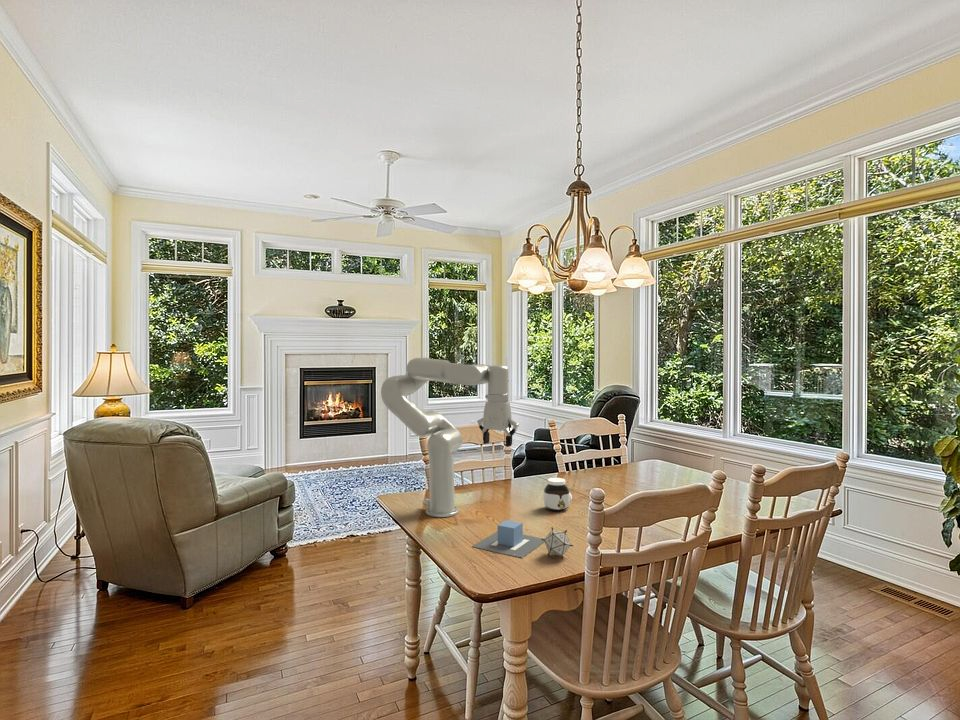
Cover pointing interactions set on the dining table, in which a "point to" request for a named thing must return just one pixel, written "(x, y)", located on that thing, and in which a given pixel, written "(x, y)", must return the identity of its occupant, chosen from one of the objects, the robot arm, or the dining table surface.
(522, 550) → the letter mat
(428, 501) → the robot arm
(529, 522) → the dining table surface
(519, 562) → the dining table surface
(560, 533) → the game die
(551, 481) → the spread jar
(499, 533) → the slate cube
